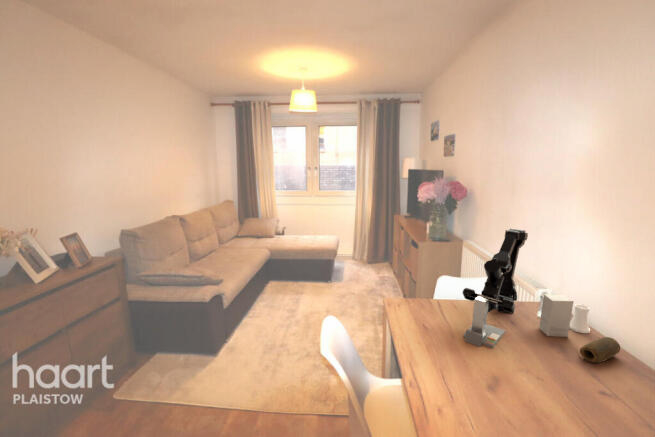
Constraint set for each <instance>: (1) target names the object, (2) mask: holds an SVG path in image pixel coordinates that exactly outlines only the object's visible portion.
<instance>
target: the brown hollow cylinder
mask: <svg viewBox="0 0 655 437" xmlns="http://www.w3.org/2000/svg"><path fill="white" fill-rule="evenodd" d="M620 351H621V344H620V343H619V342H618V341H617V339H615V338H613V337H608V336H605V337H601V338H598V339H595V340H593V341H591V342H588V343H586V344H584V345H583V346H581V347H580V350H579V353H580V355H581V357H582V358H583V359H585V360H586V361H588V362H590V363H595V364H596V363H597V364H598V363H601V362H603V361H606V360H608V359H611V358H613V357H615V356H616V355H617V354H619V353H620Z"/></svg>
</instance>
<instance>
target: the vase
mask: <svg viewBox="0 0 655 437" xmlns="http://www.w3.org/2000/svg"><path fill="white" fill-rule="evenodd" d="M590 309H591V308H590V307H589V306H587V305H584V304H580V303H578V304H574V313H573V315H572V317H571V320H570V327H569V330H571V331H573V332H577V333H579V334H580V333H581V334H590V332H591V328H590V326H589V322H588V321H589V320H588V319H589V318H588V317H589V316H588V315H589V312H590Z"/></svg>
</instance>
